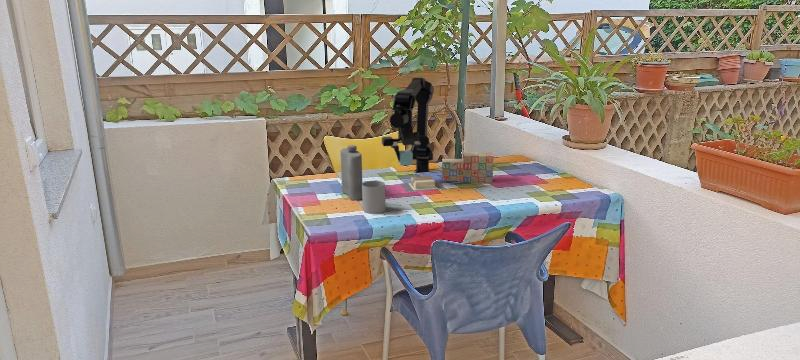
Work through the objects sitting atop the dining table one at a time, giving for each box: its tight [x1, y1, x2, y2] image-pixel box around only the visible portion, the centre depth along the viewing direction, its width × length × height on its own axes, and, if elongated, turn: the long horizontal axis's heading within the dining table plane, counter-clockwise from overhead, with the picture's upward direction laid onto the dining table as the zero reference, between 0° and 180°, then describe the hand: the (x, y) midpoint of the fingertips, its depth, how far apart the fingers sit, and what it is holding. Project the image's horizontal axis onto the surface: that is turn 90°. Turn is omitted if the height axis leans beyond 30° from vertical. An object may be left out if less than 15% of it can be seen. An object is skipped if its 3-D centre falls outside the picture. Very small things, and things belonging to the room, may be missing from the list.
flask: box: [339, 144, 363, 201], centre depth 228 cm, size 15×6×20 cm, turn 23°
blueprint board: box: [400, 180, 446, 193], centre depth 238 cm, size 12×16×1 cm
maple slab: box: [410, 175, 436, 189], centre depth 237 cm, size 8×8×3 cm
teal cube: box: [397, 149, 414, 166], centre depth 237 cm, size 5×5×5 cm
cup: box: [362, 180, 387, 215], centre depth 211 cm, size 8×8×10 cm
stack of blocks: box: [441, 151, 494, 185], centre depth 246 cm, size 21×6×12 cm, turn 85°
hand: (405, 161), depth 238 cm, fingers closed on teal cube, 5 cm apart
